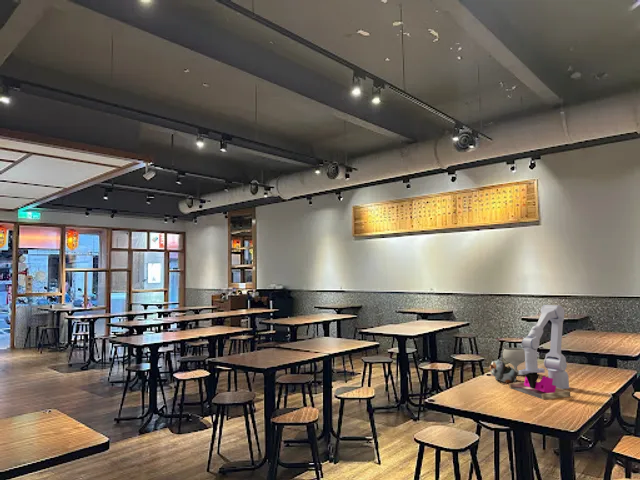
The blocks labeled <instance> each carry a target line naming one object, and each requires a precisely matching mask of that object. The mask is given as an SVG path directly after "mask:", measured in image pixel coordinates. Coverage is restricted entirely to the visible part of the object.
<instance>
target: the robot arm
mask: <svg viewBox="0 0 640 480" xmlns="http://www.w3.org/2000/svg"><path fill="white" fill-rule="evenodd" d="M565 312H566V311H565V309H564V308H563V305H561V304H558V305H557V304H543V305H542V306H541V307H540V316H539V318H538V321H537V322H536V324H535V325H534V326H532V327H531V329H530V330H529V333H528V334H527V336H526V337H523V339H522V341H521V346H522V349H524V351H525V362H524V363H525V364H524V365H525V368H524V369H518V371H519V374H521V375H520V376H525V377H527V379H528V382H529V385H530V388H535V385H536V382H538V379H539V377H540V374H545V372H546V371H547V375H548V376H547V377H548V378H552V379H553V382H552V385H555V386H556V387H557V388H560V389H564V390H566V389H571V387H570V382H569V379H570V378H569V374H568V372H567V371H566V369H567V367H568V365H567V358H566V356H564V354H563V353H562V343H563V341H562V340H563V328H564V327H563V325H564V324H563V323H564V321H565ZM549 321H550V322H551V333H550V346H549V347H550V348H549V352H547V353H545V357H544V359H543V365H544V367H545V368H540V367H538V348H539V347H540V341H541V340H540V339H541V338H542V335H543V334H544V327H545V326H546V325H547V323H548V322H549ZM545 369H546V370H545ZM523 374H525V375H523Z"/></svg>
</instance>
